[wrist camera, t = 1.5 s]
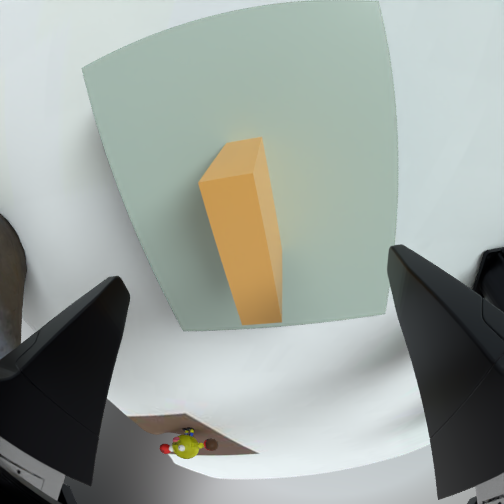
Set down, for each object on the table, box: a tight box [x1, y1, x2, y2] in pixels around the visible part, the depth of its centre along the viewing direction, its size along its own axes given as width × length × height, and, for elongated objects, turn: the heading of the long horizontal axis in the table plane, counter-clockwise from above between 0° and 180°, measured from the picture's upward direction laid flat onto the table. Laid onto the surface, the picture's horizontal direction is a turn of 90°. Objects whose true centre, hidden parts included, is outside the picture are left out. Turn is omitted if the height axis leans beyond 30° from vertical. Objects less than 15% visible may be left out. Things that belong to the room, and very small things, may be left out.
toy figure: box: [160, 428, 218, 459], centre depth 45 cm, size 18×6×7 cm, turn 133°
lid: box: [82, 0, 398, 331], centre depth 12 cm, size 18×14×7 cm
